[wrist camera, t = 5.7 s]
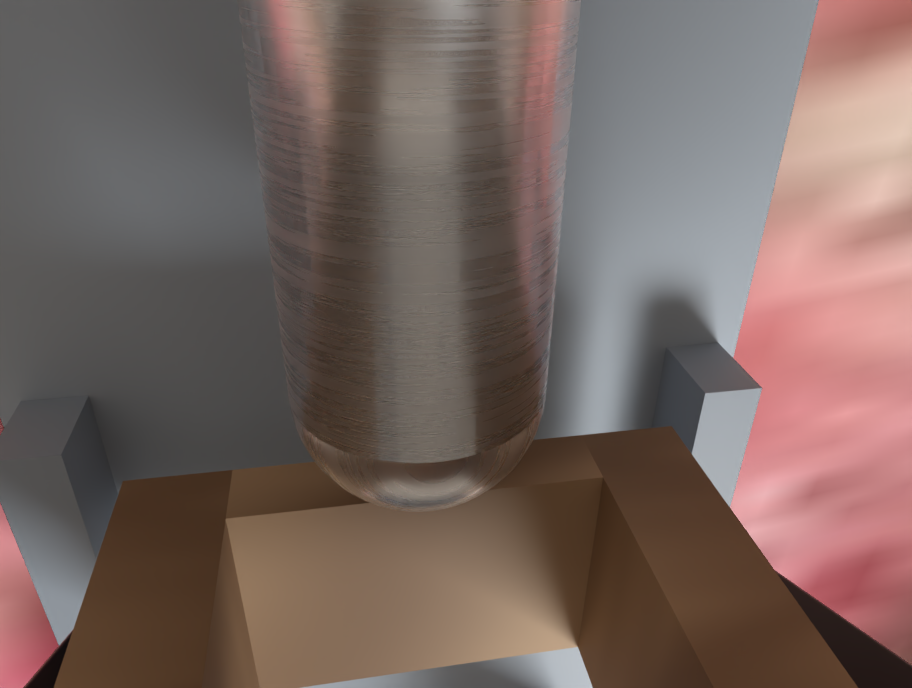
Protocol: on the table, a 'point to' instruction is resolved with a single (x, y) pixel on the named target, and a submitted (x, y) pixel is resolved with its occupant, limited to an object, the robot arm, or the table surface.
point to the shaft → (413, 229)
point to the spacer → (443, 579)
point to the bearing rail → (250, 272)
